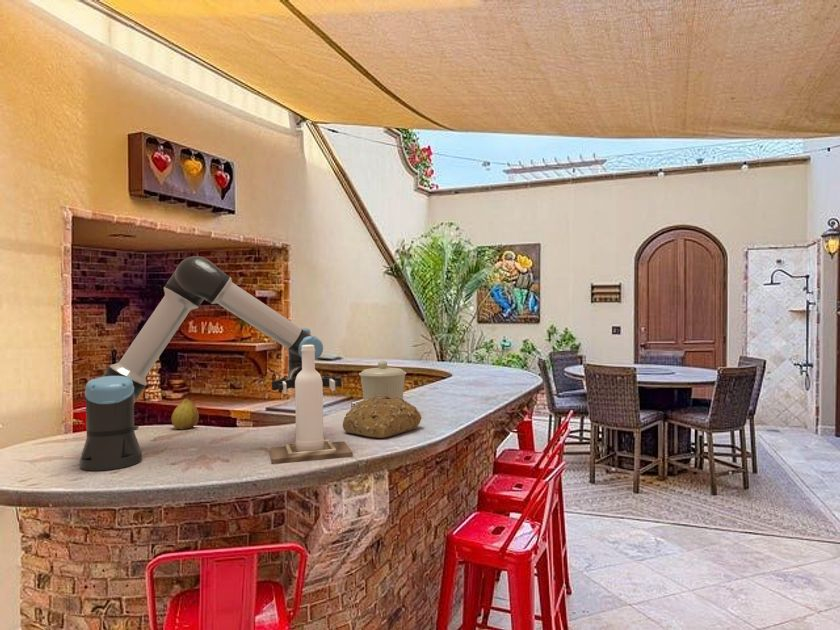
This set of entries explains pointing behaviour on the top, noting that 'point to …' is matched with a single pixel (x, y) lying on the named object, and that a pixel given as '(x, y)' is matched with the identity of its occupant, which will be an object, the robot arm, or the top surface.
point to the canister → (382, 381)
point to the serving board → (309, 452)
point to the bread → (381, 417)
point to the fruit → (185, 415)
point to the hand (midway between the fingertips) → (309, 387)
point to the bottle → (309, 404)
